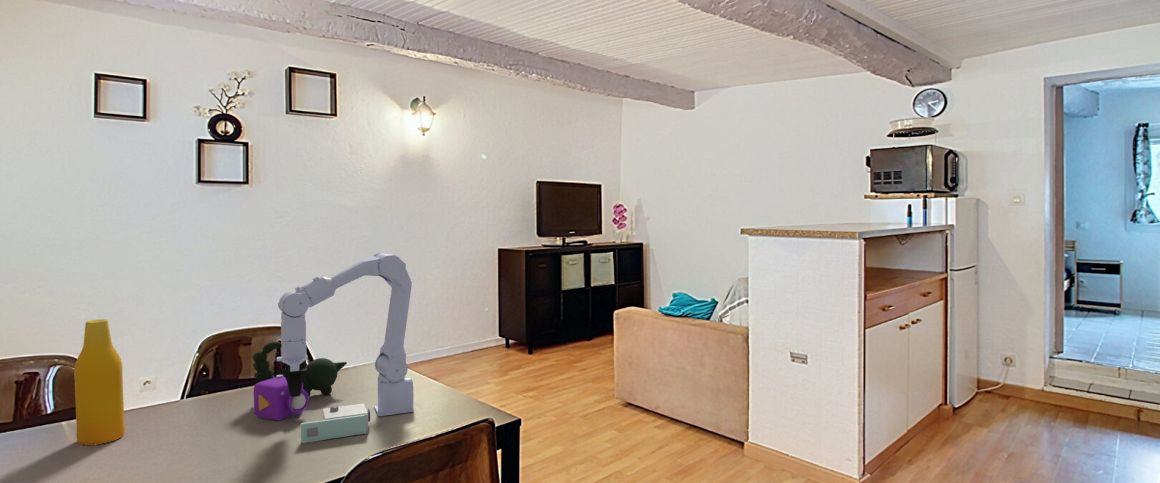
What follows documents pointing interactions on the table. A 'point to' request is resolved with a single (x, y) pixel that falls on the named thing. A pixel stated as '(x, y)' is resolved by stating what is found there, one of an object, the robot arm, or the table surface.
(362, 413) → the block
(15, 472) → the table surface
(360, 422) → the side door
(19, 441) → the table surface
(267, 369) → the toy figurine
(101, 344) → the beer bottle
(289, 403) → the toy camera
